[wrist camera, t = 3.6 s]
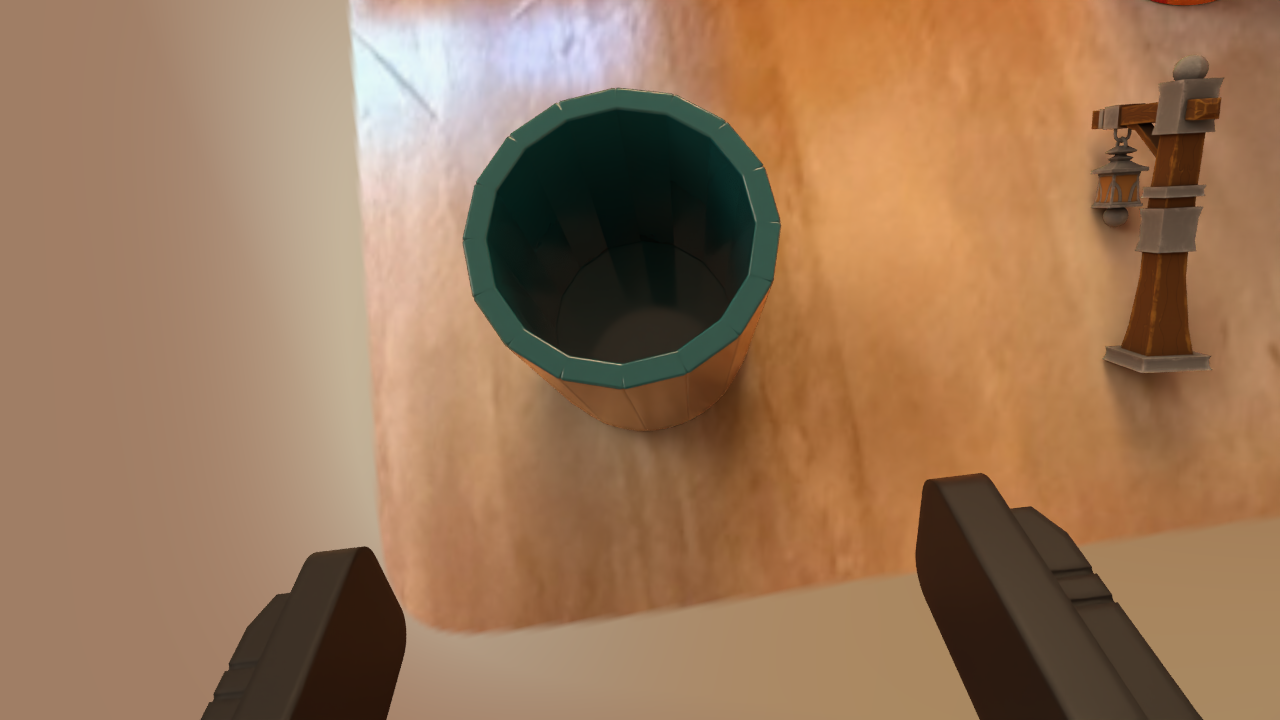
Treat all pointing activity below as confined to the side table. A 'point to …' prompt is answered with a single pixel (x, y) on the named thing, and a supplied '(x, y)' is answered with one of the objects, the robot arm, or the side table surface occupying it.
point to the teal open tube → (625, 253)
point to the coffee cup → (1183, 2)
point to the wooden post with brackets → (1161, 212)
